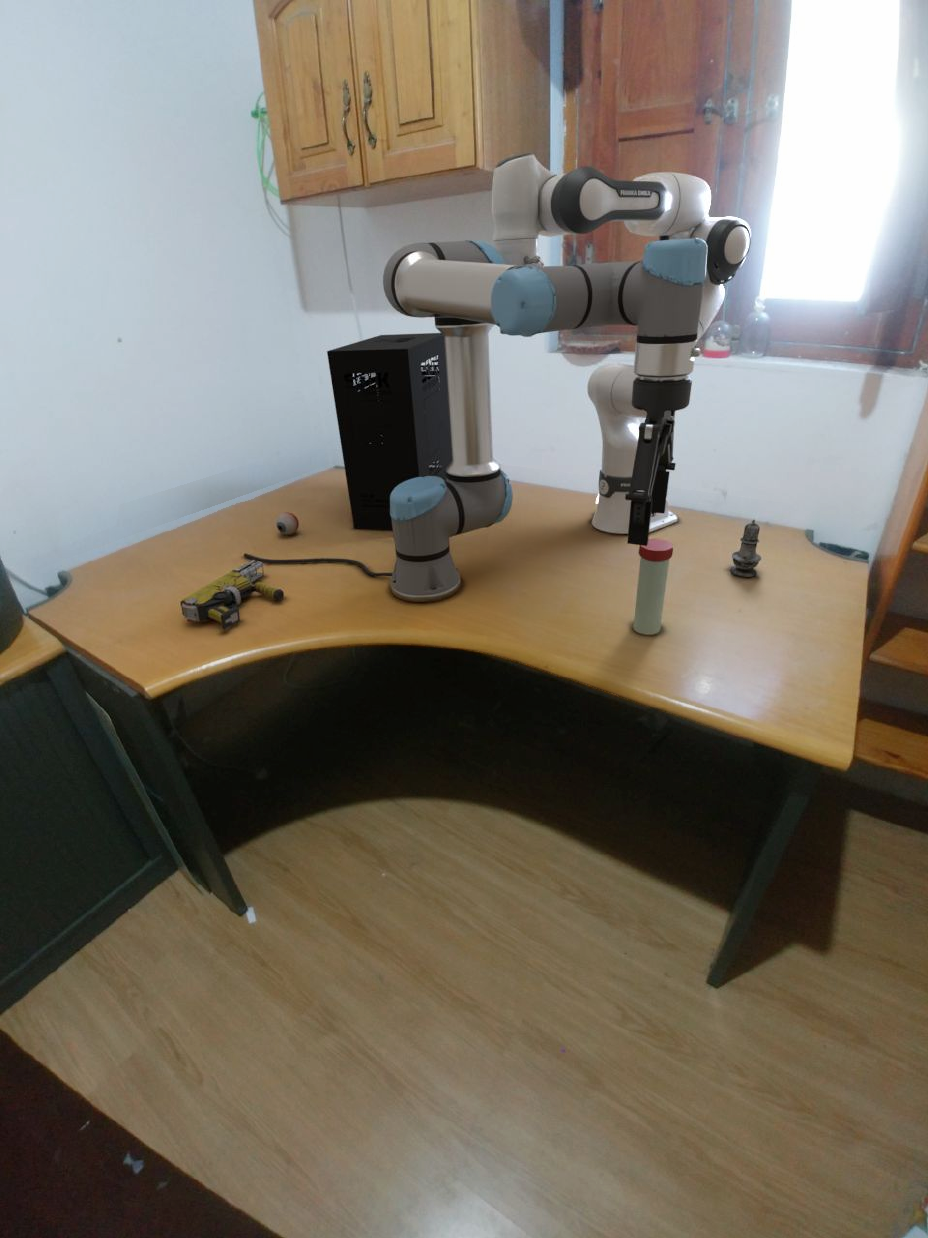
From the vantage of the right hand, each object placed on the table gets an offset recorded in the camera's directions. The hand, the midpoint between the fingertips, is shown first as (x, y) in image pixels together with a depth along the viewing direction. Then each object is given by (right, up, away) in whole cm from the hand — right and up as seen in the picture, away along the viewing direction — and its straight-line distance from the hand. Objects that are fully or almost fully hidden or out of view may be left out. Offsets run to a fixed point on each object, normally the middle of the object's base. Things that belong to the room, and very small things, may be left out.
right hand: (516, 335), depth 125 cm
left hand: (+17, -45, -35) cm, 59 cm away
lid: (+23, -46, -20) cm, 55 cm away
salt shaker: (+50, -49, +7) cm, 70 cm away
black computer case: (-27, -25, +55) cm, 66 cm away
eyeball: (-59, -36, +40) cm, 80 cm away
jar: (+24, -61, -11) cm, 66 cm away
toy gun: (-58, -55, +6) cm, 80 cm away
